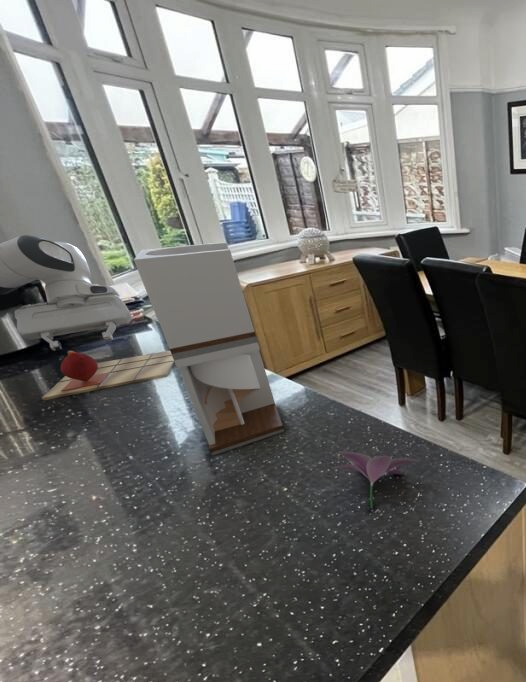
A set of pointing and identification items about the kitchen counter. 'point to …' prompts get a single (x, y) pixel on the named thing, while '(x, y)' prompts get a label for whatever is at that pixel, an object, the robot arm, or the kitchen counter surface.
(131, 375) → the grid board
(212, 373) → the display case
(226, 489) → the kitchen counter surface
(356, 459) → the lily
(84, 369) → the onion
